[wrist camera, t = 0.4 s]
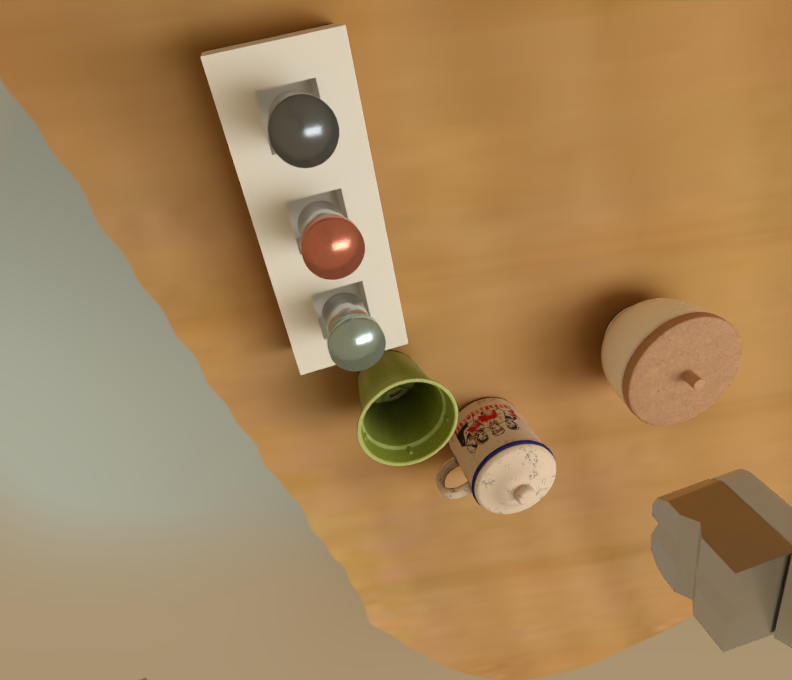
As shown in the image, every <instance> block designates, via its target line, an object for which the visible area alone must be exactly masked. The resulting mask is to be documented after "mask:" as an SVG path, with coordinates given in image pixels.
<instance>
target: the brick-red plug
mask: <svg viewBox="0 0 792 680" xmlns="http://www.w3.org/2000/svg"><path fill="white" fill-rule="evenodd" d="M298 230H299V232H300V235H301V239H300V250H301V254H302V257H303V260H304V263H305V264H306V266H307V268H308V269H309V270H310V271H311V272H312V273H313V274H315V275H316V276H318V277H320V278H323V279H328V280H337V279H341V278H344V277H347V276H349V275H350V274H352V273H353V272H354V271H355V270H356V269H357V268H358V267H359V266H360V264H361V262H362V260H363V258H364V254H365V243H364V239H363V237H362V234H361V233H360V231H359V230H358V228H357V227H356V225H355V224H354V223H353V222H352V221H351V220H349V219H348V218H346V217H344V216H343V215H342V213H341V211H340V210H339V209H338V207H337V206H335V205H334V204H333V203H331V202H328V201H322V200H321V201H314V202H312V203H309V204H308V205H307V206H305V207H304V208H303V209H302V211H301V212H300V214H299V217H298Z"/></svg>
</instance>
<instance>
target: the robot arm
mask: <svg viewBox="0 0 792 680" xmlns="http://www.w3.org/2000/svg"><path fill="white" fill-rule="evenodd" d="M652 516H653V517H654V518H655V519H656V521H657V522H658V523H659V524H658V525H657V527H656V528H655V530H654V531H653V532H652V534H651V550H652V553H653V556H654V559H655V562H656V565H657V567H658V568H659V570H660V572H661V574H662V575H663V577H664V579H665V580H666V581H667V583H668V584H669V585H670V586H671V588H672V589H673V590H674V591H675V592H677V593H679V594H681V595H683V596H685V597H688V598H690V599H692V601H693V615H694V617H695V618H696V619H697V620H698V622H699V623H700V624H701V625H702V627H703V628H704V629H705V630H706V632H707V633H708V634H709V635H710V636H711V638H712V639H713V640H714V641H715V643H716V644H717V645H718V646H719V648H720V649H721V650H722V651H723V652H725V651H728V650H730V649H733V648H736V647H739V646H742V645H745V644H747V643H750V642H753V641H756V640H759V639H761V638H764V637H767V636H770V635H773V634H774V638H775V639H777V640H779V641H781V642H782V643H784V644H786V645H788V646H789V647H791V648H792V507H791V506H790V505H789V504H788V503H786V502H785V501H784V500H783V499H782V498H780V497H779V496H778V495H777V494H776V493H774V492H773V491H772V490H771V489H770V488H769V487H767V486H766V485H765V484H764V483H763V482H761V481H760V480H759V479H758V478H757V477H755V476H754V475H753V474H752V473H750V472H749V471H746V470H743V469H738V470H735V471H732V472H729V473H727V474H724V475H721V476H718V477H716V478H713V479H707V480H704V481H702V482H699V483H696V484H694V485H691V486H688V487H685V488H683V489H680V490H677V491H675V492H672V493H669V494H666V495H664V496H661V497H658V498H657V499H656V500H655V501H654V503H653V507H652ZM141 680H147V679H146V678H144V679H141Z"/></svg>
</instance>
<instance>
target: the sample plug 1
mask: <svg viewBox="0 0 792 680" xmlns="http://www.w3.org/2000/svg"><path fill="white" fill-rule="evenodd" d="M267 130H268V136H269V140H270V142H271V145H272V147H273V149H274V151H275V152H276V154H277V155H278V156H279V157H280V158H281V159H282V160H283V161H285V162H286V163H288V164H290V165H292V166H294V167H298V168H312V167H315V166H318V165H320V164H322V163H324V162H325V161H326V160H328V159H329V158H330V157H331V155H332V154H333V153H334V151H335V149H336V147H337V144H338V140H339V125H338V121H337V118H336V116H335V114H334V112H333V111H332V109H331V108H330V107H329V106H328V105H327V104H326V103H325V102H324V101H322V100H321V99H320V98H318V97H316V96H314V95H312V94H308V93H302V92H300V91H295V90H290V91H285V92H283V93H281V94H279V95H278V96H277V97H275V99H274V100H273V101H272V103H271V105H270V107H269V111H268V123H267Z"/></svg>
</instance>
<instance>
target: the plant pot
mask: <svg viewBox="0 0 792 680" xmlns="http://www.w3.org/2000/svg"><path fill="white" fill-rule="evenodd" d="M358 388H359V396H360V405H361V413H360V416H359V419H358V423H357V436H358V440H359V443H360V445H361V447H362V448H363V450H364V451H365V453H366V454H367V455H368V456H370V457H371V458H372V459H374V460H376V461H377V462H379V463H382V464H386V465H391V466H406V465H411V464H415V463H419V462H421V461H424V460H426V459H427V458H429V457H431V456H433V455H434V454H436V453H437V452H438V451H439V450H440V449H441V448H443V446H444V445H446V443H447V442H448V441H449V439H450V438H451V437H452V435H453V433H454V431H455V428H456V425H457V420H458V407H457V403H456V401H455V399H454V397H453V395H452V394H451V393H450V391H449V390H448V389H447V388H446V387H445V386H443V385H442V384H440V383H438V382H436V381H434V380H431V379H429V378H428V377H427V376H426V375H425V374H424V373H423V372H422V370H421V369H420V368H419V367H418V366H417V365H416V364H415V363H414V362H413V361H412V360H411V359H410V358H409V357H408V356H407V355H405V354H403V353H399V352H395V351H384V353H383V355H382V357H381V358H380V360H379V361H378V362H377V363H376V364H374V365H373V366H371V367H370V368H368V369H365V370H362V371H360V373H359V375H358ZM399 390H401V391H400V392H399V393H398V394H397V395H395V396H392V397H389V395H390V394H393V393H395V392H397V391H399Z"/></svg>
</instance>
